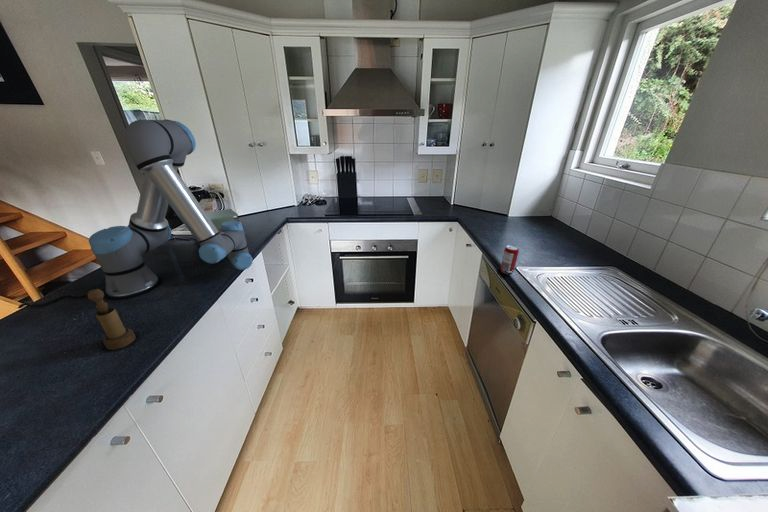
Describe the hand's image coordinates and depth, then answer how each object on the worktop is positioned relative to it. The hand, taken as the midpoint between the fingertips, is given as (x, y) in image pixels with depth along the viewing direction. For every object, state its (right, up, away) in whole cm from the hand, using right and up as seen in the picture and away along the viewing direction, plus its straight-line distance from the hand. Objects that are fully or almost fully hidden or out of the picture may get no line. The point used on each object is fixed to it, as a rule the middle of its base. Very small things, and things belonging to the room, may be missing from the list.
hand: (220, 235), depth 137 cm
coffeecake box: (-14, +1, +18) cm, 23 cm away
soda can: (+137, -17, -17) cm, 139 cm away
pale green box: (+3, -7, 0) cm, 8 cm away
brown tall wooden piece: (+5, -36, -57) cm, 68 cm away
